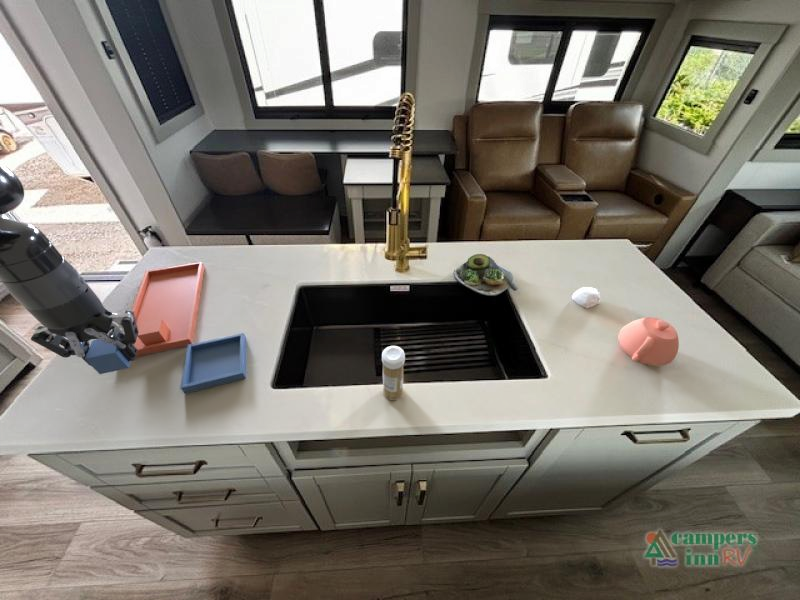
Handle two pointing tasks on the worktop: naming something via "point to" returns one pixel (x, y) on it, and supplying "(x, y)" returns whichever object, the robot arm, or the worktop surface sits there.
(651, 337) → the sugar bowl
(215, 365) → the slate-blue tray
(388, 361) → the sprinkles bottle
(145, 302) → the terracotta tray
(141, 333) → the terracotta block
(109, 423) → the worktop surface
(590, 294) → the garlic
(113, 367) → the slate-blue block
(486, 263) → the avocado toast plate
